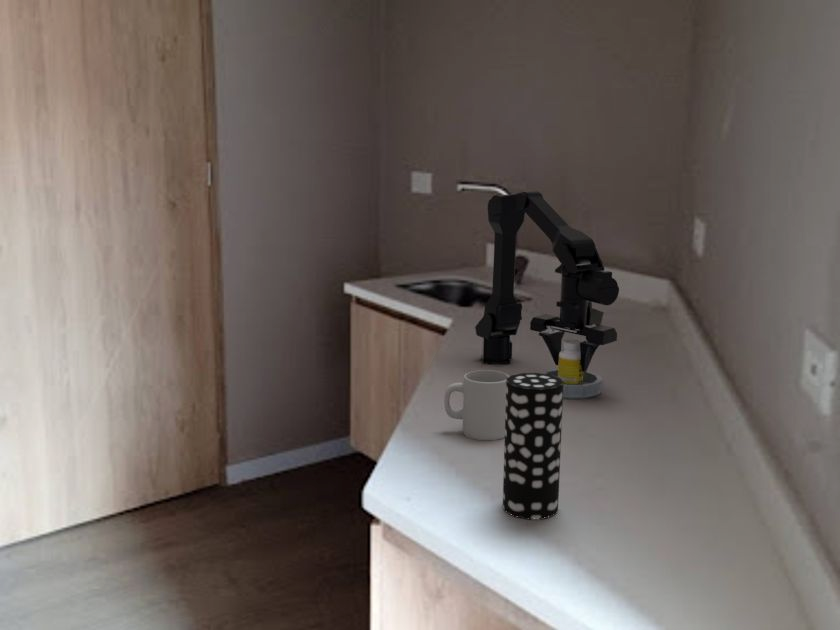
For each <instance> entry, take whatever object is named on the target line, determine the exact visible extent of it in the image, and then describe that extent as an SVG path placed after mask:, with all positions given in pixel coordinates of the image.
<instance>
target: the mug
mask: <svg viewBox="0 0 840 630" xmlns="http://www.w3.org/2000/svg"><path fill="white" fill-rule="evenodd" d="M509 376H510V375H508V374H507V373H505V372H502V371H500V370H499V371H498V370H491V369H479V370H471V371H469V372H466V373H465V374H464V375H463V382H454V383H451V384H449V385H448V386H447V388H446V390H445V393H444V398H443V400H444V409H445V412H446V415H447V416H448V417H449V418H452V419H455V420H462V432H463V433H462V434H463V435H466V437H467V436H468V437H467V438H469V437H470V438H469V439H472V438H473V439H472V440H476V439H477V440H478V441H488V440H489V441H497V440H502V439H505V410H506V379H507V378H508V377H509ZM454 392H459V393H462V395H463V396H462V397H463V400H462V401H463V402H462V403H463V404H462V409H459V410H455V409H453V408H452V407H451V405H450V398H451V395H452V393H454ZM477 440H476V441H477Z"/></svg>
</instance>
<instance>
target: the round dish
mask: <svg viewBox="0 0 840 630" xmlns="http://www.w3.org/2000/svg"><path fill="white" fill-rule="evenodd" d="M541 373H542V374H548V375H553V376H556V377H558V368H555V369H554V368H553V369H547V370H544V371H543V372H541ZM602 389H603V378H602V377H601V375H600V374H598V373H595V372H593V371H590V370H587V371H585V372H583V385H567V384H563V399H566V400H567V399H568V400H569V399H570V400H585V399H591V398H596V397H598V396H600V395H601V393H602Z"/></svg>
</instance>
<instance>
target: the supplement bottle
mask: <svg viewBox="0 0 840 630" xmlns="http://www.w3.org/2000/svg"><path fill="white" fill-rule="evenodd" d="M580 342H582V341H581V340H577V339H564V340H563V341H562V349H561V351H560V353H559V364H558V365H557V369H558V377H559V378H560V379H562V380H563V382H564V383H563V384H567V385H583V372H582V367H581V354H580Z"/></svg>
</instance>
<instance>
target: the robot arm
mask: <svg viewBox="0 0 840 630" xmlns="http://www.w3.org/2000/svg"><path fill="white" fill-rule="evenodd" d="M525 215H527V216H528V217H529V218H530V219H531V220H532V221H533V223H534V224H535V225H536V226H537V227H538V228H539V229H540V231H541V232H542V233H543V234H544V235H545V236H546V237H547V239H548V240H549V241H550V243H552V245H551V246H552V252H553V253H554V255H555V257H556V258H557V260H558V261H559V263H560V265H559V266H558V267H556V268H555V269H554V272H555V273H556V274H560V275H561V276H560V278H561V279H560V297H559V298H560V300H557V301H556V307H559V316H557V315H553V314H548V313H546V314H545V313H544V314H542V315H541V314H540V315H537V316H534V317H533V318H532V319H531V321H530V325H529V326H530V327H529V329H530V331H534V332H537V333H538V336H539V337H541V338H542V340H543V341H544V343H545V345H546V347H547V349H548V352H549V353H550V355H551V357H552V360H553V363H554V364H555V366H558V364H559V353H560V351H562V342H563V341H562V340H563V337H564V336H565V333H569V334H574V335H578V336H583V337H585V340H584V341H583V340H582V341H581V342H580V354H581V367H582V372H585V371H588V368H589V366H590V363H591V361H592V360H593V357H594V354H595V353H596V350H597V349H598V348H599V346H605V345H607V344H608V345H609V344H611V343H614V342H617V340H618V332H617V330H616V328H615V327H613V326H607V325H604V324H603V325H602V321H603V317H604V313H605V312H604V311H601V310H598V309H596V308H593V303H595V304H599V305H602V306H610V305H612V304H614V303H615V302H616V300H617V298H618V296H619V293H620V287H619V284H618V282H617V280H616V279H615V278H613V272H612V271H610V270H605V266H604V264H603V261H602V259H601V257H600V254H599V252H598V250H597V248H596V244H595V241H594V240H593V239H592V238H591V237H590V236H588V235H587V234H586V233H584V232H583V231H581V230H578V229H576V228H573V227H571V226H570V225H569V224H568V223H567V222H566V221H565V220H564V218H563V217H561V215H559V214H558V212H557V211H556V210H555V209H554V208H553V207H552V206H551V205H550V204H549V203H548V202H547V200H545V198H544V196H543V194H542V193H541V192H540V191H538V190H526V191H525V190H524V191H521V192H517V193H514V194H513V193H512V194H495V195H492V197H491V198H490V199H489V200H488V203H487V216H488V217H487V220H488V223H489V224H490V226H491V228H492V231H493V232H494V244H493V245H494V246H493V247H494V248H493V269H492V290H491V295H490V297H489V298H488V300H487V301H486V303H485V306H484V310H483V316H482V318H481V319H480V320H479V321H478V322H477V324H476V325H475V326H474V329H475V333H476V336H478V337H480V338H482V345H481V346H482V348H481V349H482V350H481V351H482V352H481V353H482V354H481V355H480V356H481V361H482V363H483V364H511V360H512V359H513V342H512V340H511V336H516V335H517V333H518V330H519V327H520V324H521V321H522V320H523V318H522V310H523V304H522V303H521V302H518V300H517V298H516V296H515V273H516V251H517V233H518V232H519V231H520V228H521V227H522V225H523V224H524V222H525ZM593 325H595V326H593ZM590 326H593V327H590Z"/></svg>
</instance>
